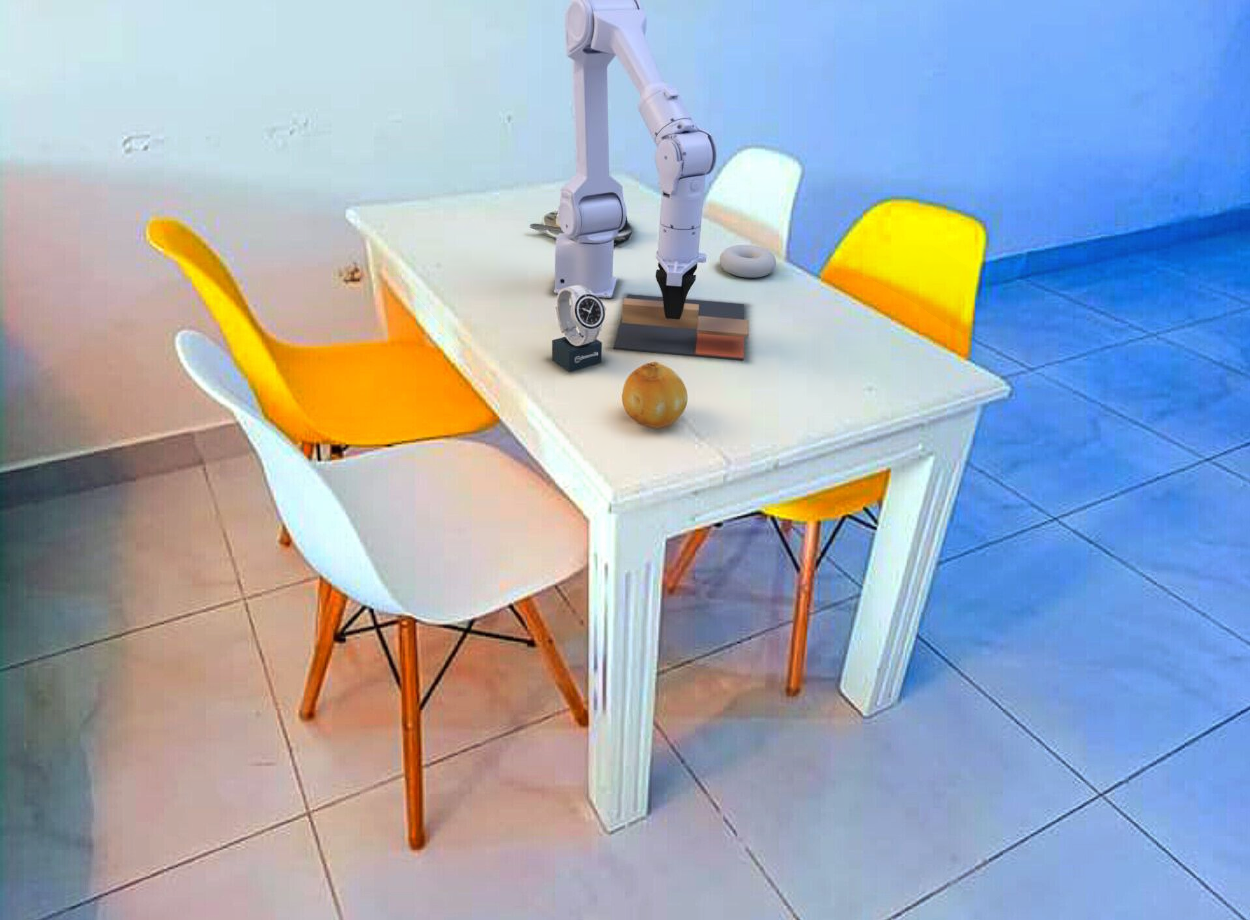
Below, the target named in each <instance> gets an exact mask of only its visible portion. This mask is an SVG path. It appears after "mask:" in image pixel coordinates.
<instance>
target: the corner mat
mask: <svg viewBox="0 0 1250 920" xmlns="http://www.w3.org/2000/svg"><path fill="white" fill-rule="evenodd" d="M626 298H628V299H640V300H652V301H663V297H662V296H653V295H641V294H632V293H631V294H630V293H629V294H627V296H626ZM685 303H687V304H699V311H698V316H706V317H718V318H730V319H742V320H745V304H744V303H737V302H734V303H733V302H724V301H713V300H703V299H702V300H701V299H691V298H689V299H688V298H686V300H685ZM696 331H697V329H687V328H676V327H664V326H652V325H641V324H629V323H622V317H621V318H620V321H619V324H618V329H617V333H616V336H615V340H614V343H613V347H612V349H613V350H622V351H633V352H644V353H656V354H666V355H675V356H677V355H678V356H687V357H688V356H689V357H700V358H701V357H702V358H711V359H721V360H722V359H724V360H734V361H744V359H745V337H733V336H722V335H710V334H699V333H696Z"/></svg>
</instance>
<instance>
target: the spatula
mask: <svg viewBox="0 0 1250 920" xmlns="http://www.w3.org/2000/svg"><path fill="white" fill-rule="evenodd" d="M698 311H699V304H687V303H685V304H684V308H683V311H682V315H681V317H680V319H679V320H678V319H667V318H666V317H665V313H664V305H663V301H652V300H640V299H628V298H627V297H623V301H622V309H621V312H622V313H621V318H622V323H629V324H641V325H652V326H664V327H676V328H687V329H697V331H696V333H699V334H710V335H722V336H733V337H744V339H745V338H747V339H748V338H749V337H750V325H749V324H750V322H749V321H750V320H749V319H744V320H742V319H730V318H718V317H706V316H698Z"/></svg>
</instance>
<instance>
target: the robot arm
mask: <svg viewBox="0 0 1250 920" xmlns="http://www.w3.org/2000/svg"><path fill="white" fill-rule="evenodd" d="M646 32H647V14H646V13H645V11H644V7H643V5H642V2H641V0H571V1H570V3H569V5H568V6H567V8H566V10H565V12H564V33H565V35H564V36H565V51H566V52H565V53H566V57H567V58H570V59H571V67H572V68H571V70H572V94H573V97H572V98H573V116H574V117H573V122H574V123H573V125H574V126H573V127H574V147H575V148H574V152H575V154H574V155H575V174H574V175H573V176H572V177H571V178H570V179H569V180H567V182H565V184H563V185H562V186H561V187H560V198H559V205H558V209H557V211H558V220H559V224H560V227H561V229H562V231H563V232H564V233H560V234H558V236H557V239H555V248H554V249H555V250H554V290H553V292H554V294H558V293H559V291H560V290H561V289H563V288H566V287H570V286H575V285H582V286H584V287H586V288H587V289H588V290H591V291H592V293H593V294H594V295H595V296H597V297H598V298H605V299H606V298H607V299H608V298H609V299H610V298H612V297H613V294H614V292H615V288H616V285H617V282H618V278H617V277H614V275H613V274H614V273H613V272H614V249H615V248H614V247H615V244H614V237H618V230H621V229H622V228H623V226H624V224H625V221H626V216H627V217H628V215H627V206H626V202H625V198H624V192H623V191H624V190H623V185H622V184H621V183H620V182H619V181H618V180H617V179H615V178H614V177H612V175H610V147H609V141H610V140H609V139H610V138H609V95H608V94H609V92H608V67H609V65H610V64H611V62H612V61H613V60H614V58H615V57H616V58H617V59H618V61H619V63H620V64H621V66H622V68H623V69H624V70H625V72H626V74H627V76H628V77H629V79H630V80H631V82H632V84H633V85H634V87H635V89H636V90H637V92H638V93H639V95H640V98H639V101H638V104H637V110H638V112H639V114H640V116H641V118H642V120H643V122H644V124H645V126H646V128H647V130H648V132H649V134H650V136H651V139H652V140H653V142H654V144H655V146H656V151H655V152H654V161H655V167H656V170H657V173H658V180H657V181H658V182H657V184H658V187H659V190H660V191H661V199H660V214H659V227H658V229H659V230H658V242H657V243H658V246H657V251H656V253H655V259H656V260H657V267H658V269H656V271H655V280H656V282H657V284H658V286H659V289H660V293H661V297H663V305H664V313H665V317H666V318H667V319H678V320H679V319H680V317H681V315H682V311H683V308H684V304H685V300H686V299H687V296H688V294H689V292H690V290H691V289H692V287H693V285H694V284H695V282H696V279H697V274H695V272H696V271H697V270H698V264H699V263H702V264H705V263H706V262H707V258H708V257H707V256H708V255H707V254H706V253H704V252H699V251H700V241H701V231H702V222H703V221H702V220H703V218H702V217H703V210H704V209H703V207H704V196H705V187H706V186H705V185H706V176H708V175H710V174H711V173H712V172H713V171H714V169H715V167H716V163H717V157H718V154H717V153H718V152H717V151H718V150H717V146H716V143H715V140H714V137H713V135H712V133H710V131H708V130H707V129H703V128H702V127H701V125H700V124H696V123H694V120H693V119H692V116H691V115H690V112H689V111H688V109H687V107H686V105H685V103H684V100H683V99H682V97H681V95H680V93H679V91H678V89H677V87H676V86H675V85H673V84H670V83H665V82H664V80H663V78H662V77H663V76H662V75H661V72H660V70H659V67H658V64H657V62H656V60H655V56H654V55H653V52H652V50H651V47H650V45H649V42H648V40H647V37H646ZM571 294H572V293H571ZM571 294H570V295H571Z"/></svg>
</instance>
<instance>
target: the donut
mask: <svg viewBox="0 0 1250 920" xmlns="http://www.w3.org/2000/svg"><path fill="white" fill-rule="evenodd" d="M719 265H720V267H721V268H722V269H723V271H725V272H727V274H730V275H733V276H735V277H739V278H740V277H741V278H746V279H757V278H761V277H767V276H768V275H770V274H771V273H772V272H773V271H774V270H775V268H776V266H777V259H776V257H775V254H774V253H773V252H771V251H770V250H768V249H766V248H765V247H762V246H757V245H752V244H736V245H732V246H729V247H727V248H725V249H724V250H723V251H722V252H721V254H720V255H719Z"/></svg>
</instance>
